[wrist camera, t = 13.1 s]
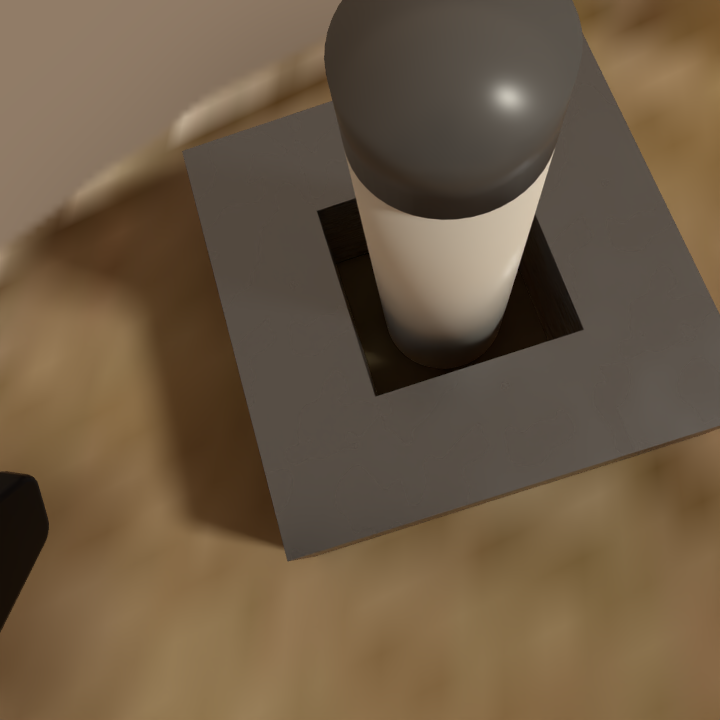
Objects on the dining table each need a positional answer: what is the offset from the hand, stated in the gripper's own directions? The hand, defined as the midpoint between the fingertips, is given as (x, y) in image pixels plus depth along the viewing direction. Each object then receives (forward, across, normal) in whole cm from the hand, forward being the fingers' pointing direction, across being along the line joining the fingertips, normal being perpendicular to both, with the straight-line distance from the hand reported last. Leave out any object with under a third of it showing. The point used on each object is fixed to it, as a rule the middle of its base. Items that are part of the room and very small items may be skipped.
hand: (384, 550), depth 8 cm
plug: (+15, 0, +4) cm, 16 cm away
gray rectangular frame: (+15, 0, +4) cm, 16 cm away
